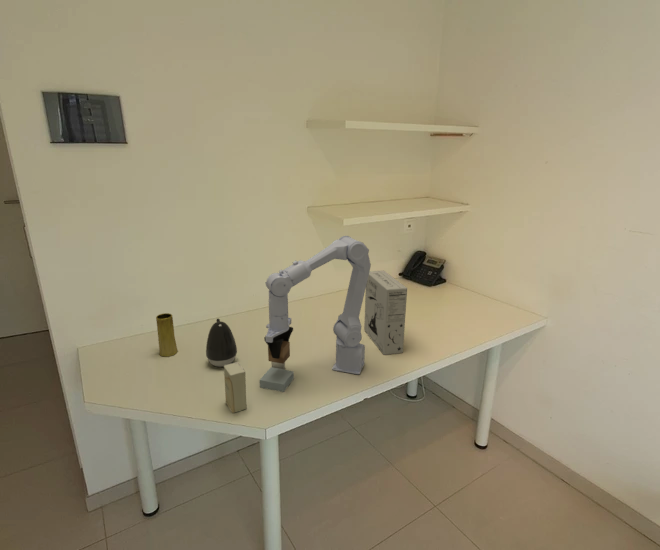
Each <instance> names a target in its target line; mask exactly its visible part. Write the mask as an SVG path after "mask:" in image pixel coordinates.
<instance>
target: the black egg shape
mask: <svg viewBox="0 0 660 550" xmlns="http://www.w3.org/2000/svg"><path fill="white" fill-rule="evenodd" d="M215 320H216V322H214V323H213V324H212V325H211V326H210V329H209V332H208V336H207V340H206V346H205V356H206V358H207V360H208V362H209V363H210V364H211V365H212V366H215V367H223V368H224V365H228V364H231V363H234V360H235V358H236V356H237V353H238V347H237V344H236V339H235V337H234V334H233V332H232V329H231V328H230V326H229V325H228V324H227V323H226V322H224V321H221V319H220V318H216V319H215Z"/></svg>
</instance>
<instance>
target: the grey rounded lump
mask: <svg viewBox="0 0 660 550" xmlns="http://www.w3.org/2000/svg"><path fill="white" fill-rule="evenodd" d="M270 362H271V361H270ZM271 367H273V368H278V369H284V370H286V361H285V362H284V364H282V363H277V362H271Z"/></svg>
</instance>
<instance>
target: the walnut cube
mask: <svg viewBox="0 0 660 550" xmlns="http://www.w3.org/2000/svg"><path fill="white" fill-rule="evenodd" d="M290 345H291V342H290V341H289V342H288V341H283V342H282V345H281V350H280V357H279V359H276V358H272V355H271V352H270V349H269V347H268V346H267V354H268V356H267V358H268V359H267V360H268V362H277V363H282V364H284V362H285V363H286V361H287V360H288V359H289V358H290V357H291V346H290Z"/></svg>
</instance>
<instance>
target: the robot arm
mask: <svg viewBox="0 0 660 550" xmlns="http://www.w3.org/2000/svg"><path fill="white" fill-rule="evenodd" d="M369 252H370V249H369V248H368V247H367V245H366V244H365V243H364V242H362V241H360V240H357V239H355V238H353V237H351V236H349V235H343V236H340V237H339V238H337V239H335V240H333V241H332V243H330V244H329V245H327V247H325V248H323V249H322V250H320V251H319V252H317V253H316V254H314V255H313V256H312V257H310V258H308V259H307V260H301V259H299V260H298V261H297V260H294V261H293V262H292V264H291V265H289V266H287V267H286V268H284V269H280V270H279V271H278V272H274V273H271V274H269V276H268V277H267V278H266V282H265V287H267V289H268V317H269V318H268V320H269V323H267V324H266V325H265V328H267V332H266V335H265V336H264V340H263V341H264V342H265V344H266V345H267V348H268V347H269V349H270V352H271V355H272V358H276V359H279V357H280V350H281V345H282V342H283V341H288V342H290V337H291V335H292V333H293V331H294V327H292V326H290V325H292V317H289V299H288V297H289V296H288V294H289V293H290V291H291V289H292V288H293V287H295V286H296V285H299V284H300V283H301V282H303V281H305V280H307V279H308V278H310V277H311V274H312V271H314V270H316V269H318V268H319V267H321V266H324V265H326V264H328V263H329V262H331V261H332V260H339V261H340V260H342V261H347V262H348V263H349V264H350V265H351V267H352V270H351V273H350V274H351V275H350V280H349V284H348V287H347V293H346V296H345V301H344V305H343V306H344V307H343V311H342V313H341V314H339V315H338V317H337V320H336V322H335V323H334V325H333V327H332V330H333V334H334V335H335V336H336V338H335V362H334V364H333V366H332V367H331V370H332V371H337V372H341V373H342V372H343V373H348V374H353V375H360V374H361V372H362V371H363V368H364V366H365V363H366V362H365V357H366V356H365V353H366V351H365V349H366V345H365V344H363V343H361V340H362V337H363V336H362V323H361V320H360V313H361V311H362V309H361V308H362V304H363V302H364V296H365V294H366V284H367V280H368V276H369V271H370V270H371V265H372V264H371V260H370V256H369Z"/></svg>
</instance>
